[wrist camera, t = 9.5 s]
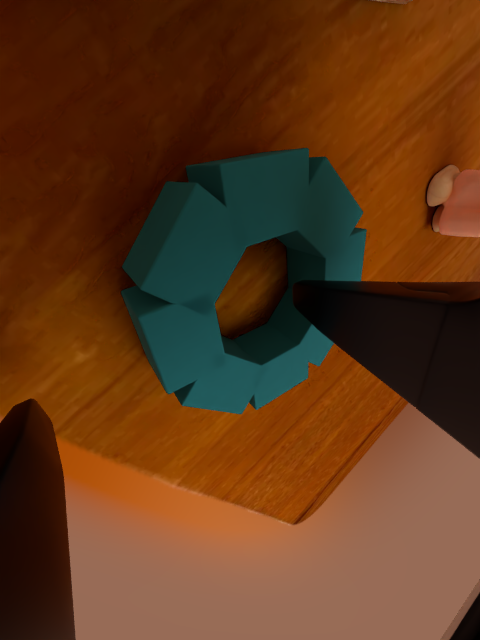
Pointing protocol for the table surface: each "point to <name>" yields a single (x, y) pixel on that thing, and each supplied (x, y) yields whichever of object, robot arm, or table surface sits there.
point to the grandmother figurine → (456, 202)
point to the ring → (219, 263)
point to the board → (394, 1)
